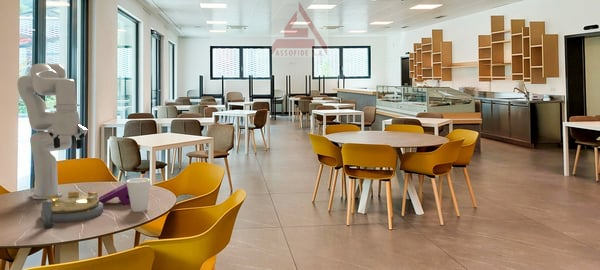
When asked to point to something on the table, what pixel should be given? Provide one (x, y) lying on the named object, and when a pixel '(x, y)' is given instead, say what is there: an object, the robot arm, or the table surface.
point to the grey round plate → (77, 215)
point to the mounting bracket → (117, 195)
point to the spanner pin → (47, 214)
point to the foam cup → (138, 193)
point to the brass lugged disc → (74, 202)
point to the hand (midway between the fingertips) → (68, 148)
